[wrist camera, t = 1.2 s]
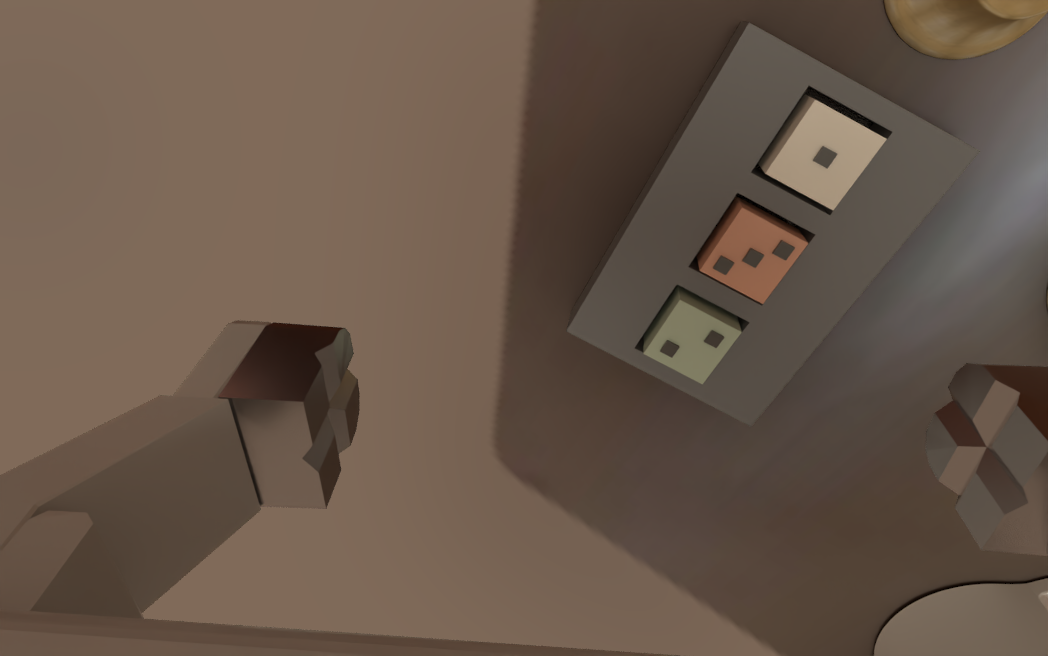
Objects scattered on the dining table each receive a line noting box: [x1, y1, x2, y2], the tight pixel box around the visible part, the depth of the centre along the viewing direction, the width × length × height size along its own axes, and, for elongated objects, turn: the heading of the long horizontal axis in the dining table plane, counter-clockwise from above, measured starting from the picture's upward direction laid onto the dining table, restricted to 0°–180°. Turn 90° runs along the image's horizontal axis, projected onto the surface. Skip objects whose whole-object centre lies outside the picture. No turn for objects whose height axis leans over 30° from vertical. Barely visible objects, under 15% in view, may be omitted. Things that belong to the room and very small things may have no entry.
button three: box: [697, 196, 809, 304], centre depth 36 cm, size 4×4×3 cm
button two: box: [643, 285, 742, 384], centre depth 39 cm, size 4×4×3 cm
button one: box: [758, 94, 887, 210], centre depth 33 cm, size 4×4×3 cm
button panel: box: [566, 22, 980, 426], centre depth 37 cm, size 13×19×3 cm
